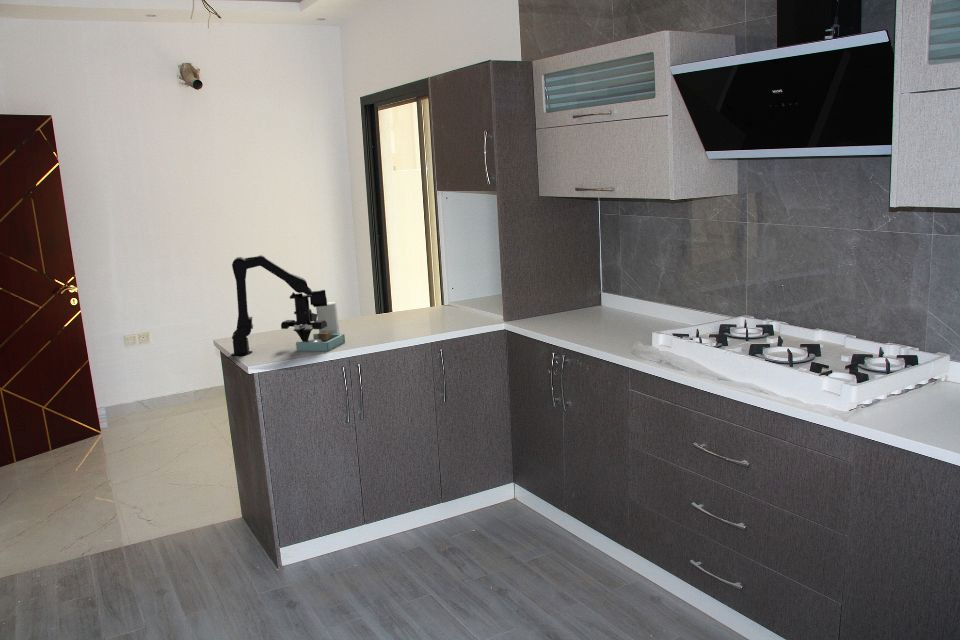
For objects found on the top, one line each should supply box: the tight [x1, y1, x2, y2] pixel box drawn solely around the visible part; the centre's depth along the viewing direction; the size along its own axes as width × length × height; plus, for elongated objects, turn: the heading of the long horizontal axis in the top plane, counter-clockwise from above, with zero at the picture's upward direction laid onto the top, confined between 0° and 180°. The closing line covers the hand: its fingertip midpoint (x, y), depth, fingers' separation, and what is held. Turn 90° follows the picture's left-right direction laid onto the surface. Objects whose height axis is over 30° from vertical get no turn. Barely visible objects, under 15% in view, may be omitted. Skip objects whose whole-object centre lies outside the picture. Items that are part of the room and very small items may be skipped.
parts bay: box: [295, 333, 346, 352], centre depth 336 cm, size 16×14×4 cm
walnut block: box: [317, 332, 331, 342], centre depth 339 cm, size 4×4×5 cm
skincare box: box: [315, 301, 341, 334], centre depth 351 cm, size 8×7×16 cm
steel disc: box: [307, 338, 322, 342], centre depth 333 cm, size 6×6×3 cm
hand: (305, 344), depth 335 cm, fingers closed
